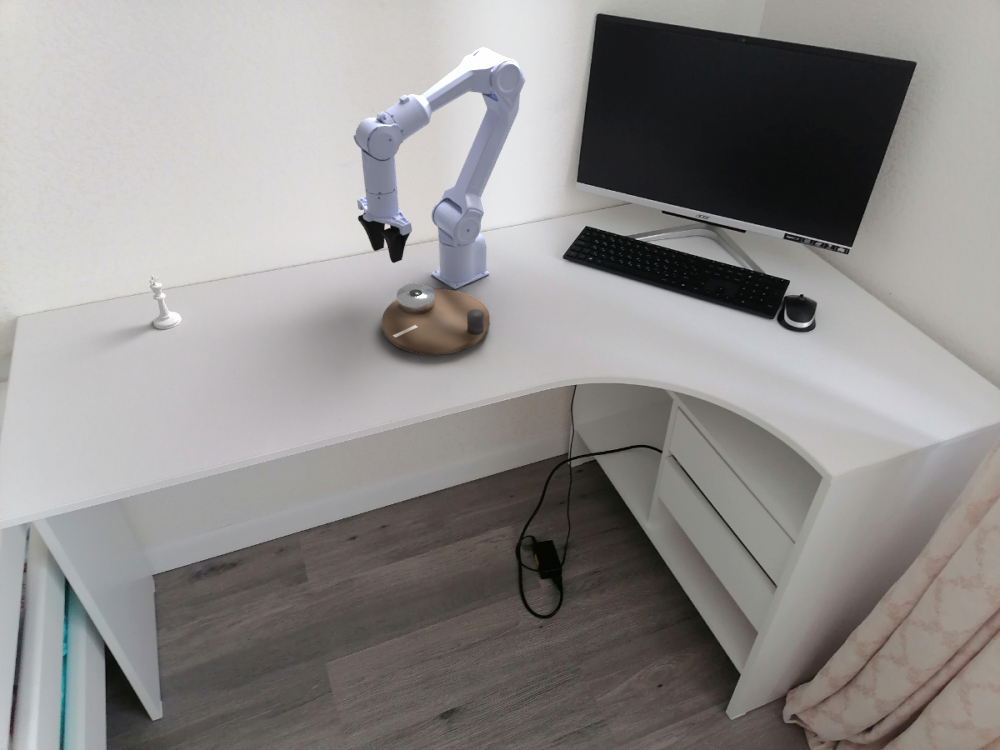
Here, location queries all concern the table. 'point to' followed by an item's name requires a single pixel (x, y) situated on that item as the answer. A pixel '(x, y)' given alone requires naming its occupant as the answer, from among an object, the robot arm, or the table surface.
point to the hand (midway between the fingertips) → (387, 254)
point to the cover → (416, 298)
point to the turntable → (438, 324)
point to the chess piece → (163, 308)
